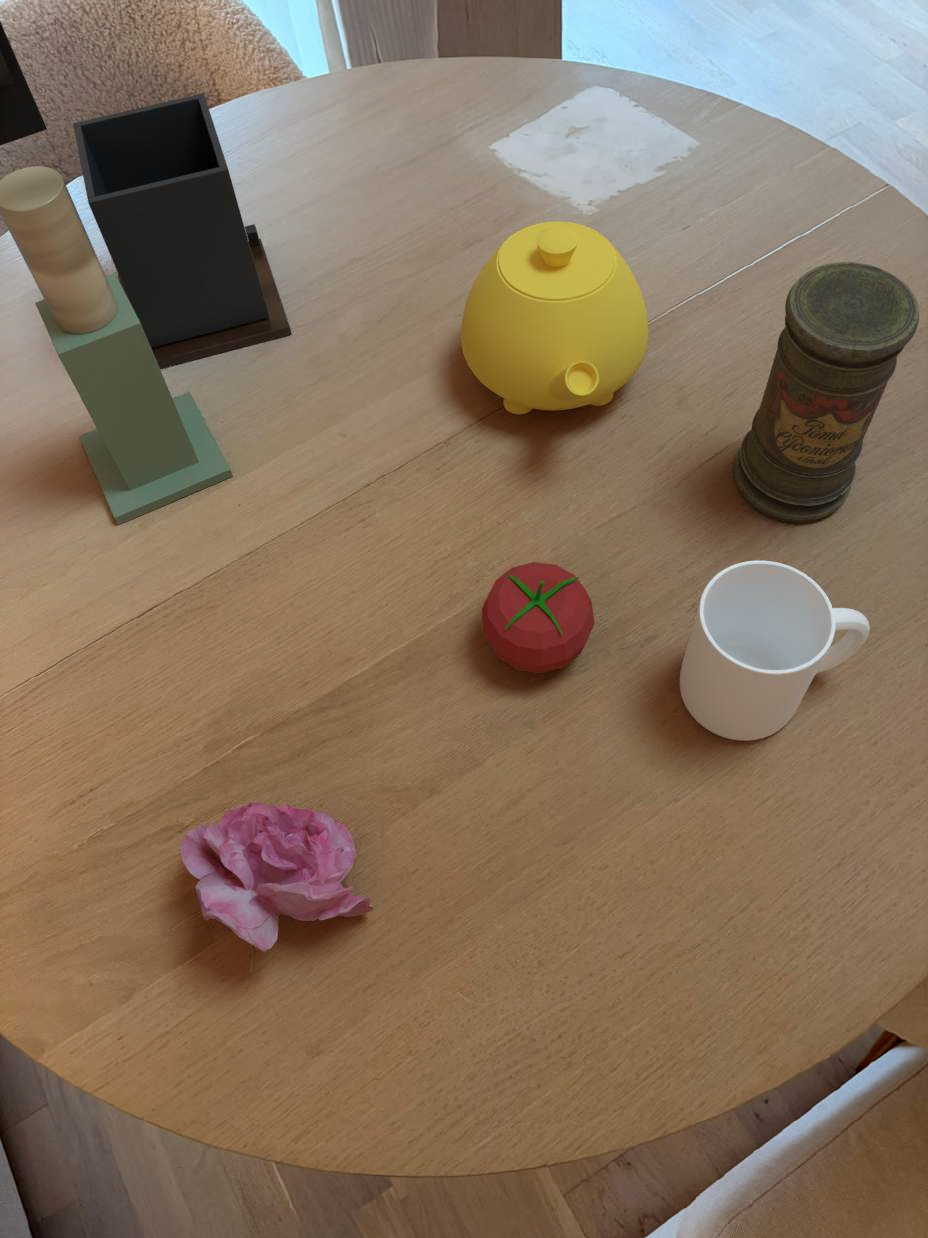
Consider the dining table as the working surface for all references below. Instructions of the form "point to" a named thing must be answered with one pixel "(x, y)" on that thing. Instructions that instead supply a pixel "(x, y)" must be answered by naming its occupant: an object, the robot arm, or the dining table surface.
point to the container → (824, 389)
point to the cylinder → (57, 249)
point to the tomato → (537, 617)
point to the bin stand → (238, 334)
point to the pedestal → (135, 416)
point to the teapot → (554, 320)
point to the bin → (170, 218)
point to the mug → (761, 648)
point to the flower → (271, 869)
